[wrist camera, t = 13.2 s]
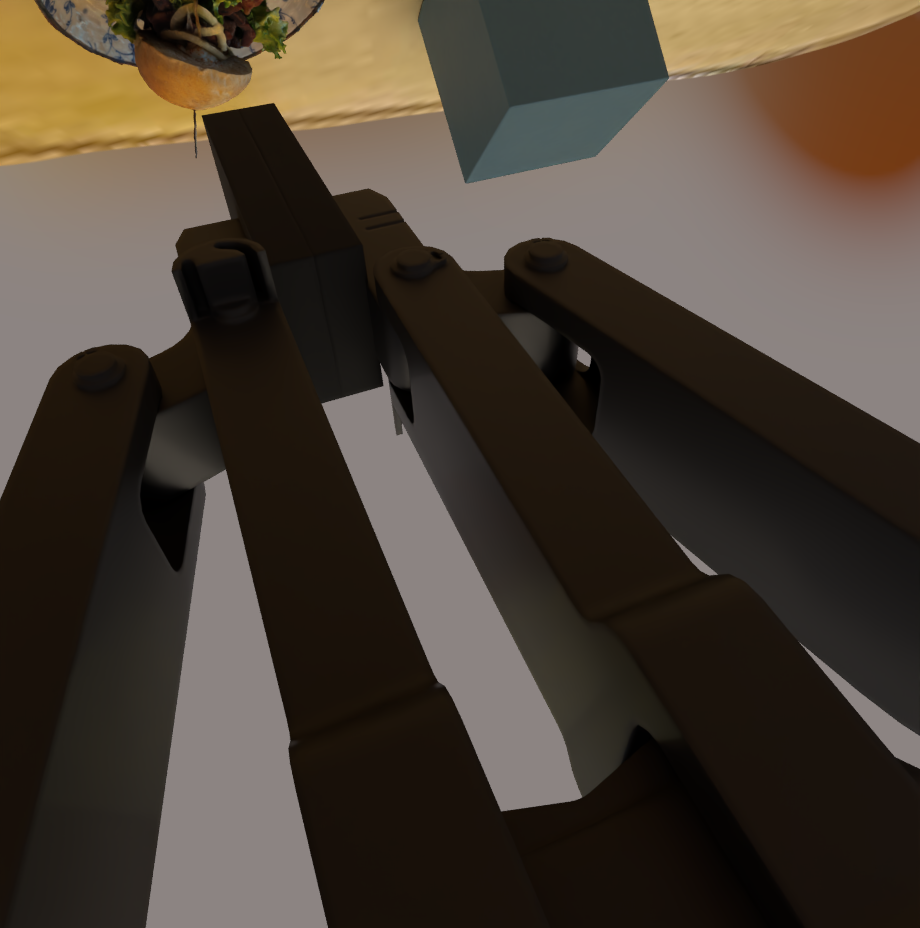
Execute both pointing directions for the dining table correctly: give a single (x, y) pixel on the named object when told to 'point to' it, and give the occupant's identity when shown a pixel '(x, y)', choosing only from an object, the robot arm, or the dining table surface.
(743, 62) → the dining table surface
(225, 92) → the burger
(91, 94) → the dining table surface
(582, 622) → the robot arm
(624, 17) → the slate block
